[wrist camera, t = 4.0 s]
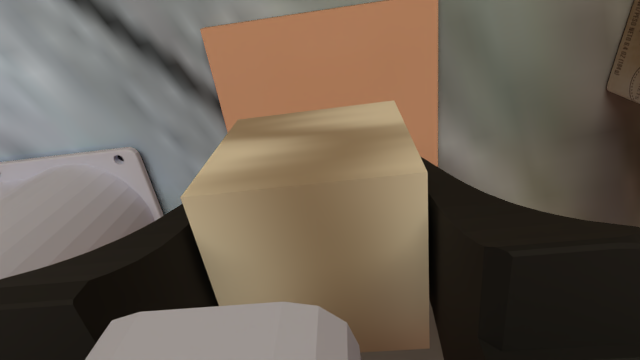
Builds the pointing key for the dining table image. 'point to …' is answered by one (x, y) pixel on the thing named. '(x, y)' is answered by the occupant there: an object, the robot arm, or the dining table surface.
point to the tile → (332, 64)
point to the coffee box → (628, 60)
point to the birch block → (320, 219)
